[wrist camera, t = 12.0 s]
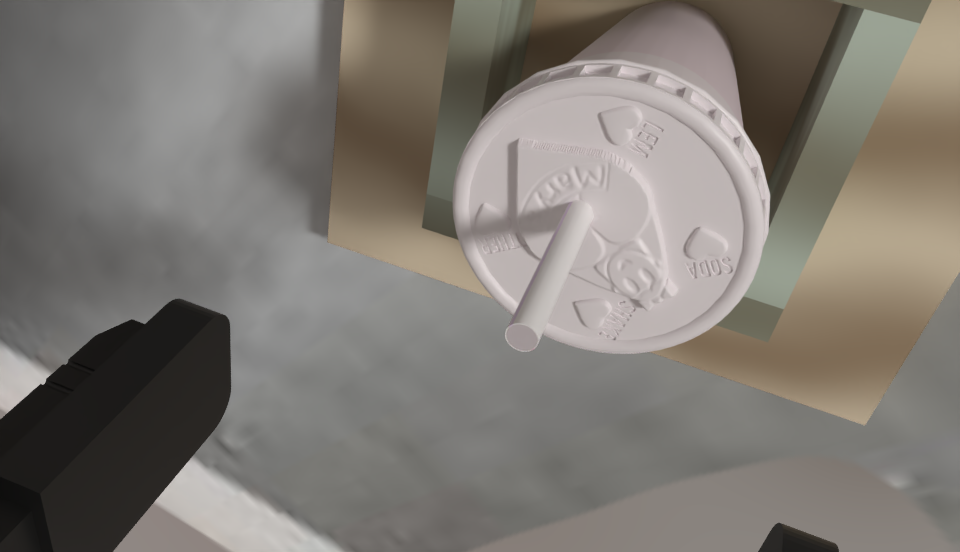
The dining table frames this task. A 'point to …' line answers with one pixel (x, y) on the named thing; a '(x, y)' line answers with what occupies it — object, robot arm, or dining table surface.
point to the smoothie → (618, 190)
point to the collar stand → (767, 122)
